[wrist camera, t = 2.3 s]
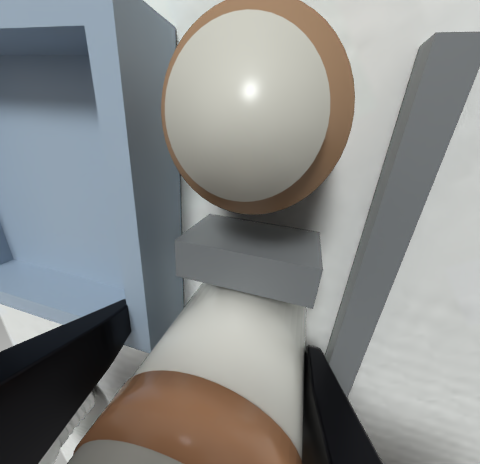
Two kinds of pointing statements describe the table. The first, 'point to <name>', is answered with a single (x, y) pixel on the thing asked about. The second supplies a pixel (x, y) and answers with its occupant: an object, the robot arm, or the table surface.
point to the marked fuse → (211, 389)
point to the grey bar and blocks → (377, 224)
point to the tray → (87, 163)
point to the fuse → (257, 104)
